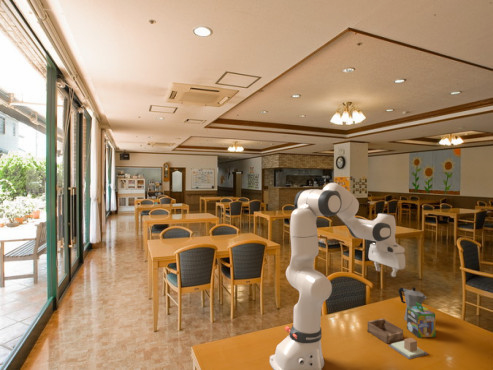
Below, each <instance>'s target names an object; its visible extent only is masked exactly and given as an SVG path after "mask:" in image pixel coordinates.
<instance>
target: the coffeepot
mask: <svg viewBox="0 0 493 370" xmlns="http://www.w3.org/2000/svg"><path fill="white" fill-rule="evenodd" d="M416 289H417V288H416V287H414V286H413V287H412V289H407V288H404V287H400V288H399V289H398V294H399V297H400V298H399V299H400V301H401V303H403V304H406V307H405V313H404V318H403V319H404V321H406V322H407V307H413V306H417V305H416V302H418V303H419V304H421V305H422V306H423V302H424V301H425V300H427V296H425V294H424V293H423V292H421V291H419V290H416ZM403 293H404V296H403ZM404 300H405V301H404ZM418 306H419V307H420V305H418Z"/></svg>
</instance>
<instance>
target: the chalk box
mask: <svg viewBox="0 0 493 370" xmlns="http://www.w3.org/2000/svg"><path fill="white" fill-rule="evenodd" d="M416 305H417V306H413V307H407V306H406V307H407V321H406V329H407V330H408V331H409V332H410V333H412V335H414V336H415V337H416V338H417V339H419V338H436V333H437V331H436V313H435V312H433V311H432V310H431V309H428V308H427V307H425V306H423V304H422V305H421V304H419V303H418V302H416ZM418 305H420V307H419V306H418Z"/></svg>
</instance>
